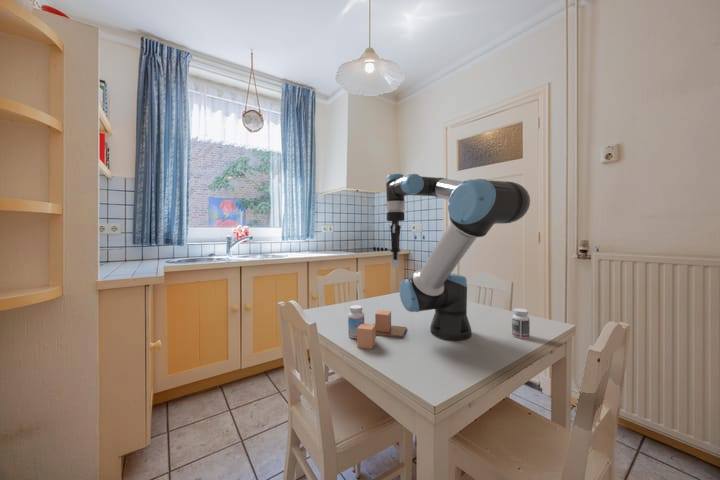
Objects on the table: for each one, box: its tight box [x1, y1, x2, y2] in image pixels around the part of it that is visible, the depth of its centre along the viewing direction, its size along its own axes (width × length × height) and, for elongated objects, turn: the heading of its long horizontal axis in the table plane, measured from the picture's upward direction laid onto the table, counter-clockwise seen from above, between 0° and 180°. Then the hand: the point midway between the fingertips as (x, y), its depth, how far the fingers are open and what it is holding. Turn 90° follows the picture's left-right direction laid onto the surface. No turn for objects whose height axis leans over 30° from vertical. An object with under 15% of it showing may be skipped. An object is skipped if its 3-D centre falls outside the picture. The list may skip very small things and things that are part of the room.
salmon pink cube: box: [374, 310, 392, 332], centre depth 114 cm, size 5×5×7 cm
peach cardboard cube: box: [356, 323, 377, 350], centre depth 100 cm, size 5×5×7 cm
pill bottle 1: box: [347, 304, 365, 340], centre depth 109 cm, size 6×6×11 cm
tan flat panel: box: [372, 323, 407, 339], centre depth 114 cm, size 14×10×6 cm
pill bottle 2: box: [511, 307, 531, 340], centre depth 107 cm, size 6×6×10 cm
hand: (395, 267), depth 123 cm, fingers closed
